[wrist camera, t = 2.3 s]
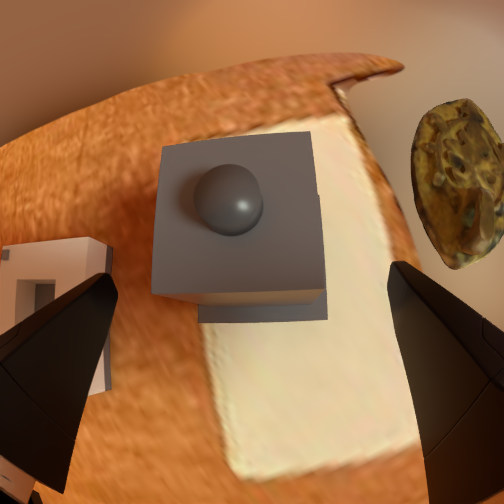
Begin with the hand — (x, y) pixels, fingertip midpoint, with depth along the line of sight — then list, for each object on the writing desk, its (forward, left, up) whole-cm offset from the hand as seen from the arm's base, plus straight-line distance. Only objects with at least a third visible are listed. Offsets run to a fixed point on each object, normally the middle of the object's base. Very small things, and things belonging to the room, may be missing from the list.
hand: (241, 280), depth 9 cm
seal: (+6, -16, -10) cm, 20 cm away
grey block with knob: (+2, 0, -9) cm, 10 cm away
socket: (+1, +16, -9) cm, 18 cm away
